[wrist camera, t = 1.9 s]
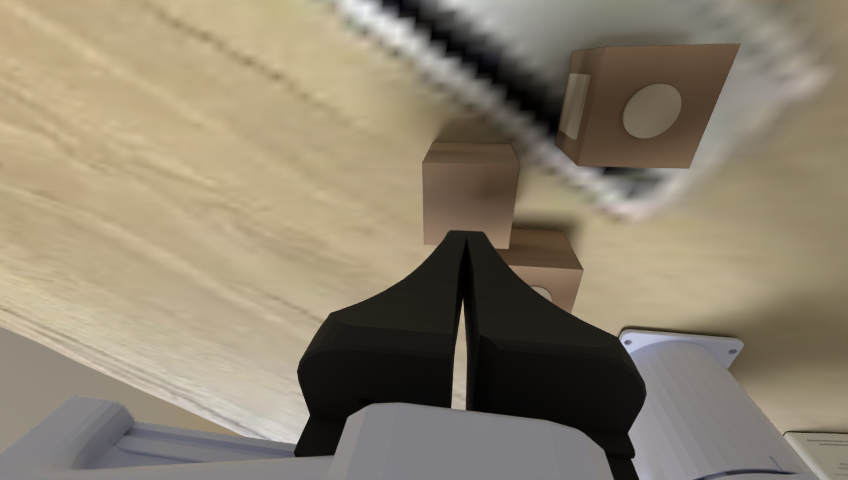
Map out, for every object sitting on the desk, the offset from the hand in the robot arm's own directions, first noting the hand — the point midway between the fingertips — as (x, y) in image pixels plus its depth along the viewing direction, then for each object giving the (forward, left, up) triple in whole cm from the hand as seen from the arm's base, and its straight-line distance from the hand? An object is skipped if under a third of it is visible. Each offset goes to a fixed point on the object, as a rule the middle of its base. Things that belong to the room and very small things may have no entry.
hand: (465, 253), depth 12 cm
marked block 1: (+4, -7, -9) cm, 12 cm away
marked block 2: (-6, -4, -9) cm, 11 cm away
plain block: (0, 0, -9) cm, 9 cm away
